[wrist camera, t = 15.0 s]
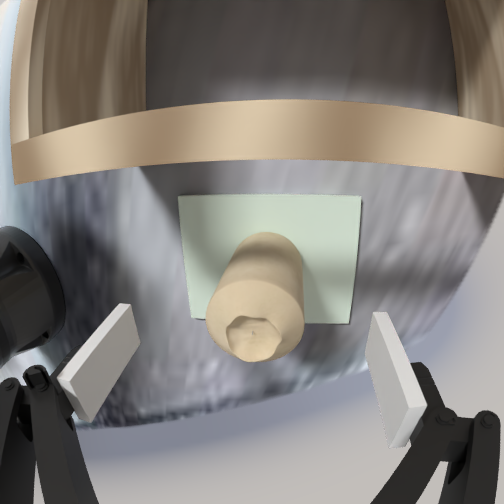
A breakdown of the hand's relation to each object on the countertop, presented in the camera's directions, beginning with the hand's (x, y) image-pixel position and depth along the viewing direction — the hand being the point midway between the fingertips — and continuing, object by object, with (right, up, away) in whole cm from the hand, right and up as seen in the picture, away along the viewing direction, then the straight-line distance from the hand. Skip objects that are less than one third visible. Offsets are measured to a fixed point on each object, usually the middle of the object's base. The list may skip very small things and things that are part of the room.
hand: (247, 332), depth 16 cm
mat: (+2, +3, +9) cm, 10 cm away
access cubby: (+4, +20, +3) cm, 21 cm away
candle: (+1, +3, +9) cm, 10 cm away
